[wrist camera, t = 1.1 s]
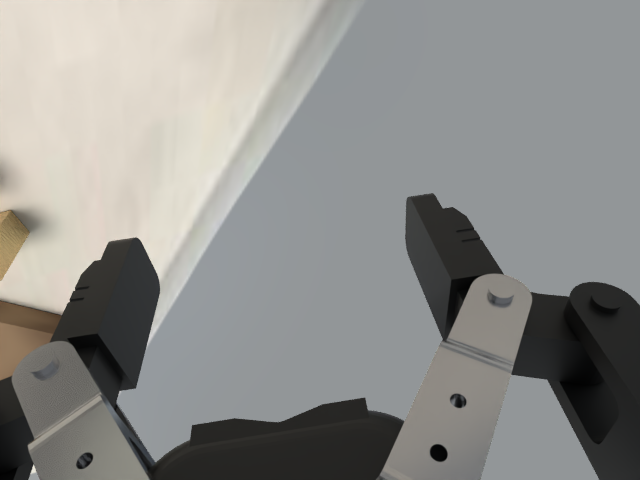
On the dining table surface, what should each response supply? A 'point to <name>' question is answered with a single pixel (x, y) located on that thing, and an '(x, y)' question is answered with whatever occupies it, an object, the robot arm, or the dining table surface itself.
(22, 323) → the shaft stand
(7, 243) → the slotted square frame
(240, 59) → the dining table surface
